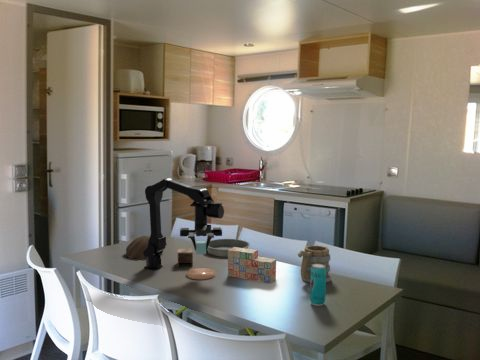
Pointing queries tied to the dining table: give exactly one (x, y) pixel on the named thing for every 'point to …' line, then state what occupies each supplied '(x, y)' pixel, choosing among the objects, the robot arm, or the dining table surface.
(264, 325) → the dining table surface
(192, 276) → the dish
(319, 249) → the tankard
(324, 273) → the beverage can
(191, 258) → the brown wooden open box
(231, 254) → the stack of blocks
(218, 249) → the cake pan
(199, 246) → the block
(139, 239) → the decorative dome
